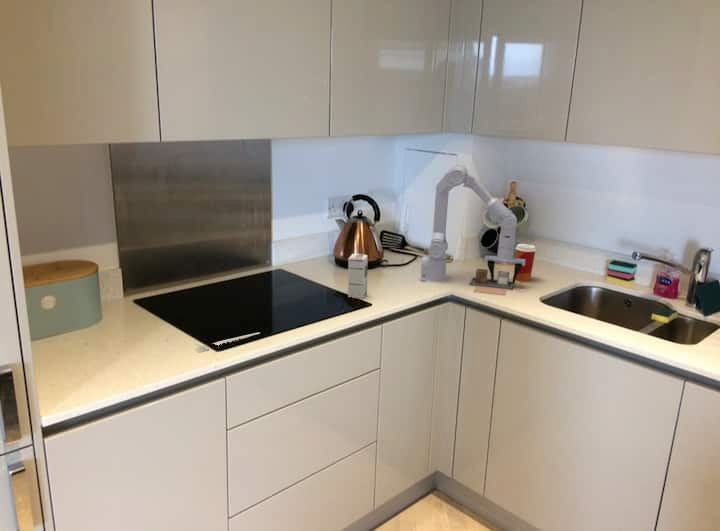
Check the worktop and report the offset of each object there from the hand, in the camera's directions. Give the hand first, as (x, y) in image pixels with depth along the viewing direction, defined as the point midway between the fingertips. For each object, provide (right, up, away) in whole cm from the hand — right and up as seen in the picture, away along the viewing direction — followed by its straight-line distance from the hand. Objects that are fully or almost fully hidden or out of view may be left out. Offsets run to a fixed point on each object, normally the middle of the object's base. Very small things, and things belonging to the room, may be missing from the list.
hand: (502, 281), depth 222 cm
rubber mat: (-6, -3, -6) cm, 9 cm away
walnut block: (-8, -1, +2) cm, 8 cm away
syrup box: (-54, -5, -14) cm, 56 cm away
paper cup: (+10, 0, +8) cm, 13 cm away
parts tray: (-4, -1, +2) cm, 4 cm away
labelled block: (0, -1, 0) cm, 2 cm away
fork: (-90, -16, -55) cm, 107 cm away
